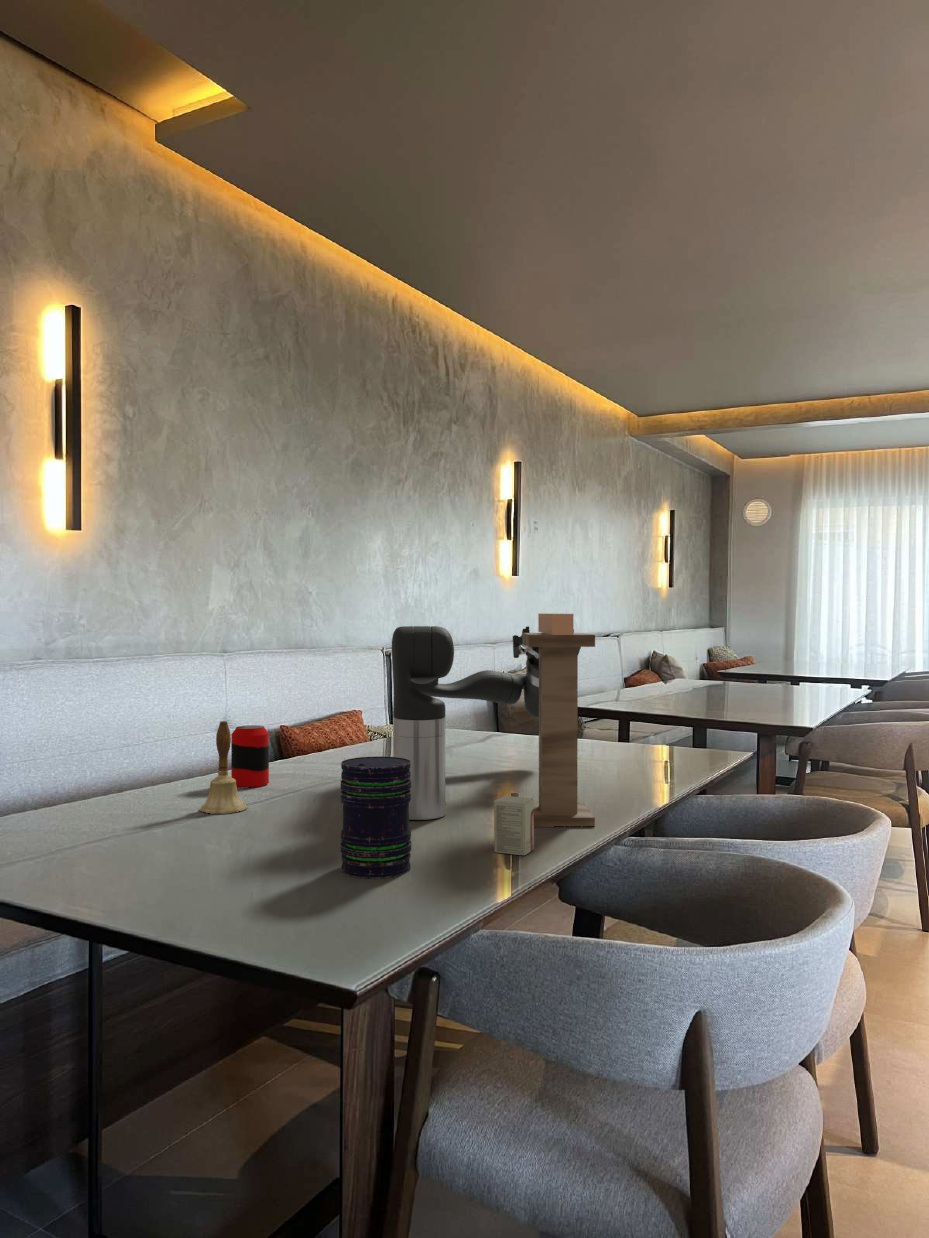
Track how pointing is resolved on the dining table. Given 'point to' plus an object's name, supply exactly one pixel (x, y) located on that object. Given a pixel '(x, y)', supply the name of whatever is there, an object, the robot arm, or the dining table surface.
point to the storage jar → (375, 817)
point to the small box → (514, 825)
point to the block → (555, 624)
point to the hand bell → (223, 780)
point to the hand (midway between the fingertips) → (548, 630)
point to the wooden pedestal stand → (559, 729)
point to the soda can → (250, 756)
